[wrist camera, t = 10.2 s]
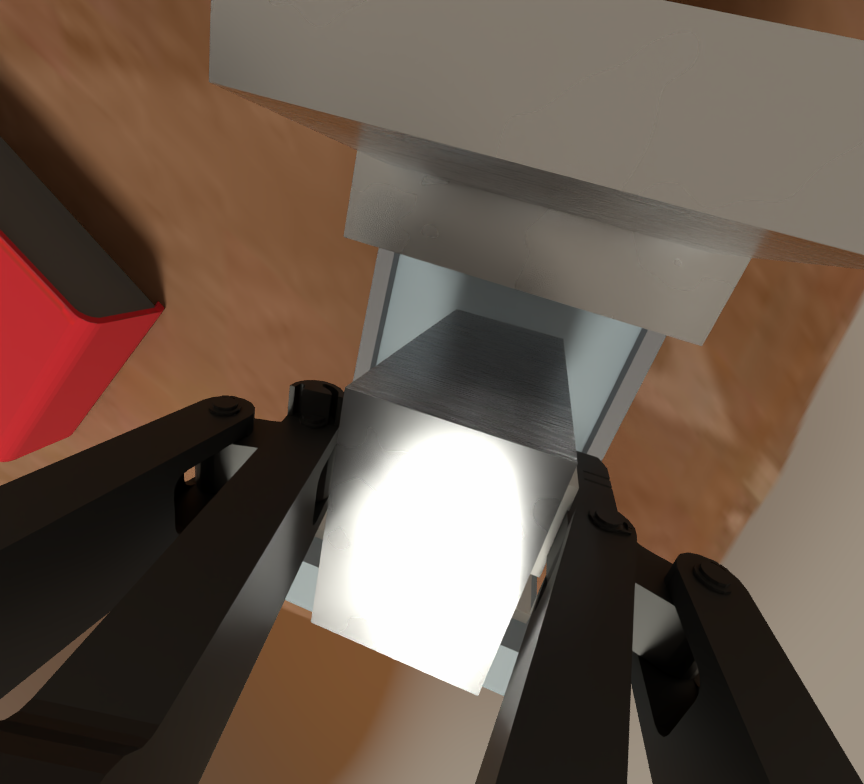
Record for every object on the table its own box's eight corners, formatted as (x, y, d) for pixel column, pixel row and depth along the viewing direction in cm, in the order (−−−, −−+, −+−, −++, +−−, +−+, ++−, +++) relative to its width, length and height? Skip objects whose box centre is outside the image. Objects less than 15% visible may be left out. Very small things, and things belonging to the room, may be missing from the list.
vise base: (346, 478, 25) (258, 588, 17) (428, 88, 17) (330, -39, 9) (539, 553, 23) (537, 710, 15) (732, 163, 15) (931, 88, 7)
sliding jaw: (412, 236, 17) (155, 237, 6) (433, 142, 16) (147, -105, 4) (642, 305, 16) (894, 479, 4) (688, 209, 14) (1221, 113, 3)
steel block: (423, 445, 18) (310, 622, 9) (456, 309, 15) (344, 387, 7) (513, 476, 17) (477, 695, 9) (563, 338, 14) (578, 463, 6)
